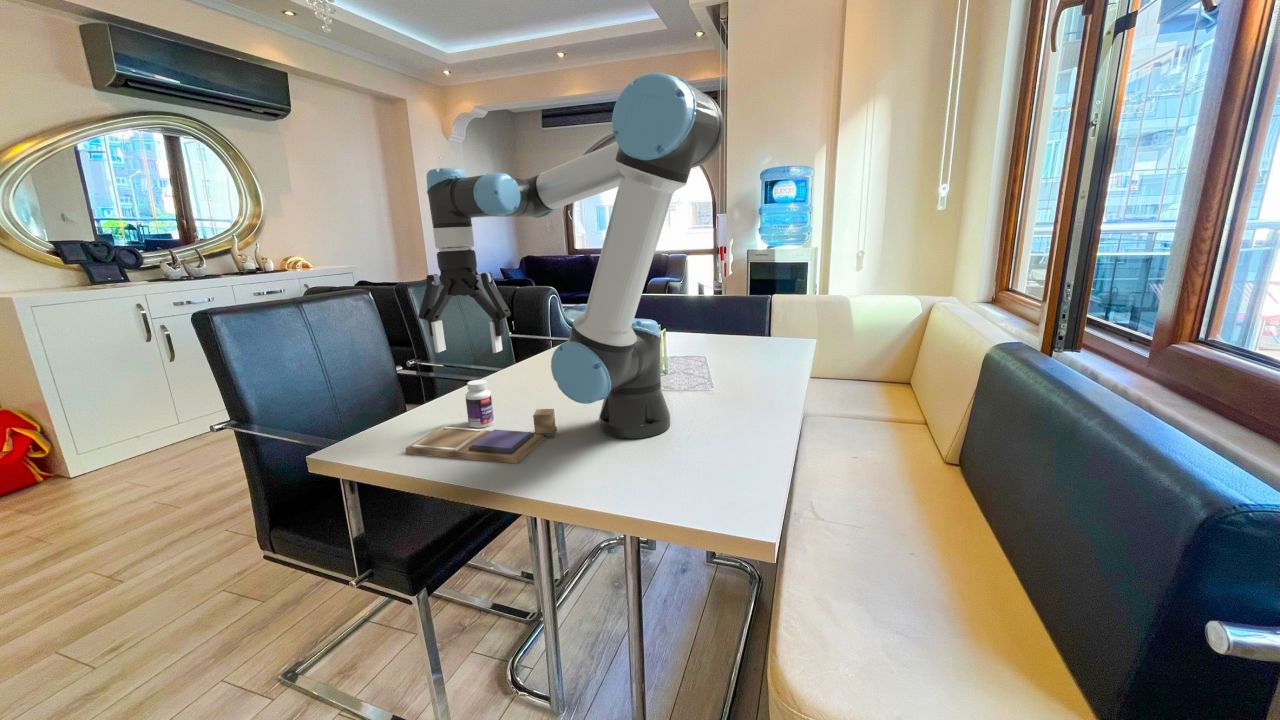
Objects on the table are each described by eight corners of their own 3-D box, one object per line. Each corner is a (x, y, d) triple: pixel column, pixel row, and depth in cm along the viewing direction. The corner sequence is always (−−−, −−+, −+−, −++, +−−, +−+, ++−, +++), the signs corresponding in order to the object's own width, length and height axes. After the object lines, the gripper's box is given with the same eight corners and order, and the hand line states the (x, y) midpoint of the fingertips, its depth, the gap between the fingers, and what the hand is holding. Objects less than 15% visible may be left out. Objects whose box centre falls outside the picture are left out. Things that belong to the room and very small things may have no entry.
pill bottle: (487, 429, 111) (481, 386, 109) (464, 428, 112) (458, 385, 110) (498, 420, 117) (493, 378, 114) (476, 419, 118) (471, 378, 115)
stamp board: (543, 440, 104) (542, 429, 104) (517, 463, 94) (515, 452, 93) (441, 432, 111) (440, 422, 110) (406, 453, 100) (404, 442, 100)
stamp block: (556, 430, 109) (555, 408, 108) (553, 438, 105) (551, 414, 104) (538, 431, 109) (536, 409, 108) (534, 438, 105) (532, 415, 104)
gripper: (520, 246, 106) (530, 347, 111) (414, 251, 111) (428, 347, 116) (502, 247, 98) (514, 355, 103) (390, 252, 104) (406, 355, 109)
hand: (468, 351), depth 110 cm, fingers open, 13 cm apart
